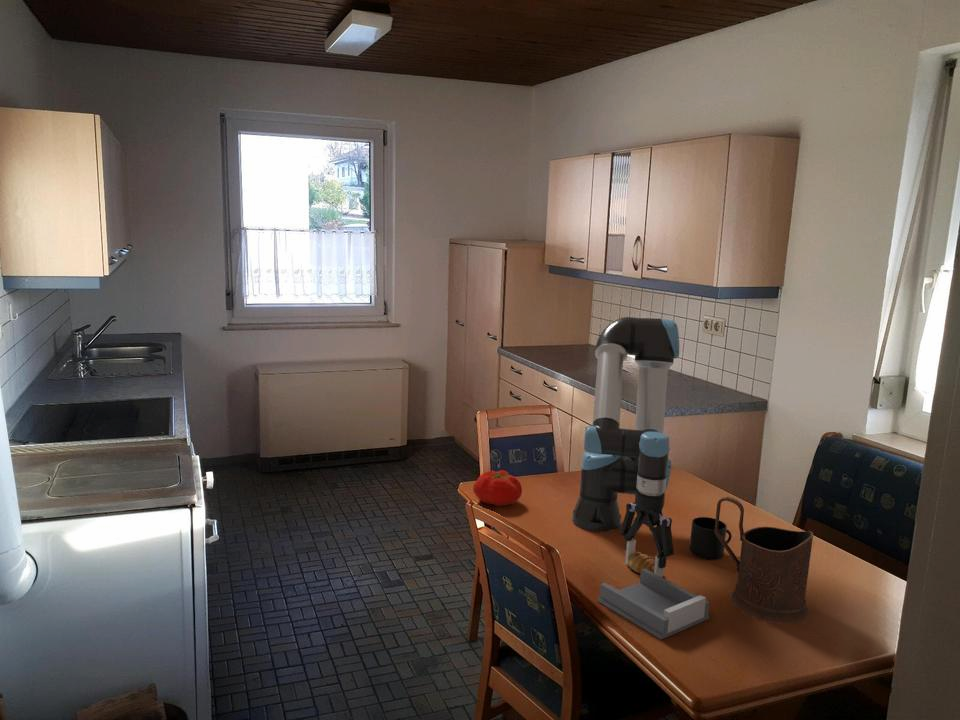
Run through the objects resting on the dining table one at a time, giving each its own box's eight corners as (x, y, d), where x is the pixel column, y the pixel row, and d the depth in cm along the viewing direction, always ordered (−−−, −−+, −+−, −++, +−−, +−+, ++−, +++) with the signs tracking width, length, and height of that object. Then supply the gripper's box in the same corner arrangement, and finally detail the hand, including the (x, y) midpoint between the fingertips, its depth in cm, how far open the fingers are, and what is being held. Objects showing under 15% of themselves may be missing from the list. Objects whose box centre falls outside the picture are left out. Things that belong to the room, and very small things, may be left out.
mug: (738, 559, 208) (741, 529, 207) (698, 561, 206) (701, 530, 204) (721, 545, 217) (724, 516, 216) (683, 546, 215) (686, 517, 214)
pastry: (667, 575, 197) (668, 561, 196) (650, 581, 193) (651, 568, 192) (641, 561, 204) (642, 548, 204) (624, 567, 200) (625, 554, 200)
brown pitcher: (802, 632, 171) (815, 531, 167) (699, 601, 184) (708, 506, 179) (814, 600, 187) (827, 506, 182) (718, 573, 199) (727, 485, 195)
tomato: (507, 515, 233) (509, 485, 232) (464, 503, 242) (465, 474, 240) (529, 501, 245) (530, 473, 244) (487, 490, 254) (488, 463, 252)
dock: (597, 601, 182) (599, 578, 180) (644, 584, 191) (646, 562, 190) (661, 639, 166) (663, 615, 165) (708, 618, 175) (711, 595, 174)
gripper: (610, 480, 201) (604, 557, 205) (674, 507, 183) (666, 591, 187) (629, 476, 205) (623, 551, 209) (693, 502, 187) (685, 583, 192)
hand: (643, 570), depth 198 cm, fingers closed on pastry, 9 cm apart
